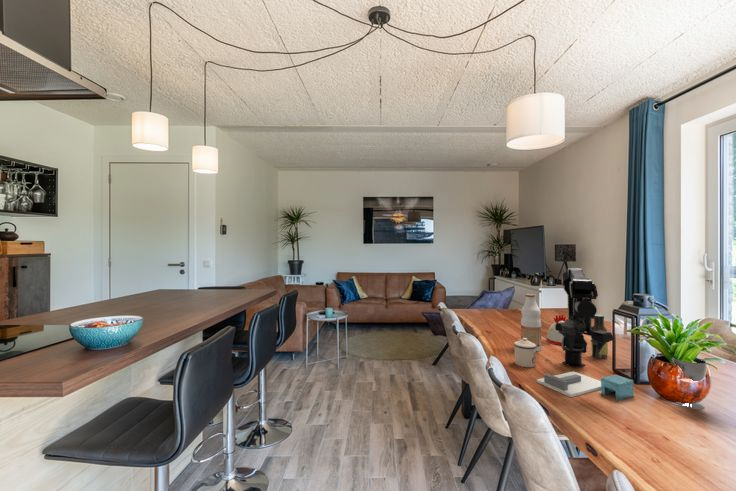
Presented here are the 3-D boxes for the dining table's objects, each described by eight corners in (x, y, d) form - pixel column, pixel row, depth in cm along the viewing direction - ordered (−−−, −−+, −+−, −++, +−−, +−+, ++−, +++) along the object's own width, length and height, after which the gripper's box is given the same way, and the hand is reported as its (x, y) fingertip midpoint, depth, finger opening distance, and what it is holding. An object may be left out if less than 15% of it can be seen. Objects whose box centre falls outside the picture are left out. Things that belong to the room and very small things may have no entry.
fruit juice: (529, 352, 163) (529, 296, 163) (517, 346, 172) (516, 293, 172) (545, 350, 165) (545, 295, 165) (532, 345, 174) (532, 292, 174)
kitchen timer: (541, 339, 186) (541, 312, 186) (563, 338, 188) (563, 312, 188) (558, 346, 172) (558, 318, 173) (582, 345, 174) (582, 317, 174)
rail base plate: (573, 373, 135) (573, 364, 135) (609, 386, 123) (609, 376, 123) (536, 382, 127) (536, 371, 127) (571, 397, 114) (571, 385, 114)
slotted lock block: (615, 389, 121) (615, 374, 121) (633, 396, 115) (633, 380, 115) (601, 393, 118) (601, 377, 118) (619, 400, 112) (619, 384, 112)
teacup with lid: (537, 369, 141) (537, 342, 141) (514, 366, 144) (513, 339, 144) (535, 360, 152) (535, 335, 152) (514, 357, 155) (513, 333, 155)
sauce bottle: (594, 353, 160) (593, 313, 160) (609, 357, 155) (609, 315, 155) (589, 356, 156) (589, 314, 156) (605, 360, 151) (604, 317, 151)
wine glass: (700, 412, 103) (700, 364, 104) (668, 401, 111) (668, 357, 111) (710, 406, 107) (710, 360, 107) (679, 396, 114) (678, 353, 114)
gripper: (544, 309, 129) (545, 349, 129) (591, 319, 111) (592, 365, 111) (565, 307, 133) (565, 346, 132) (613, 316, 115) (614, 361, 115)
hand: (582, 354), depth 123 cm, fingers open, 9 cm apart
